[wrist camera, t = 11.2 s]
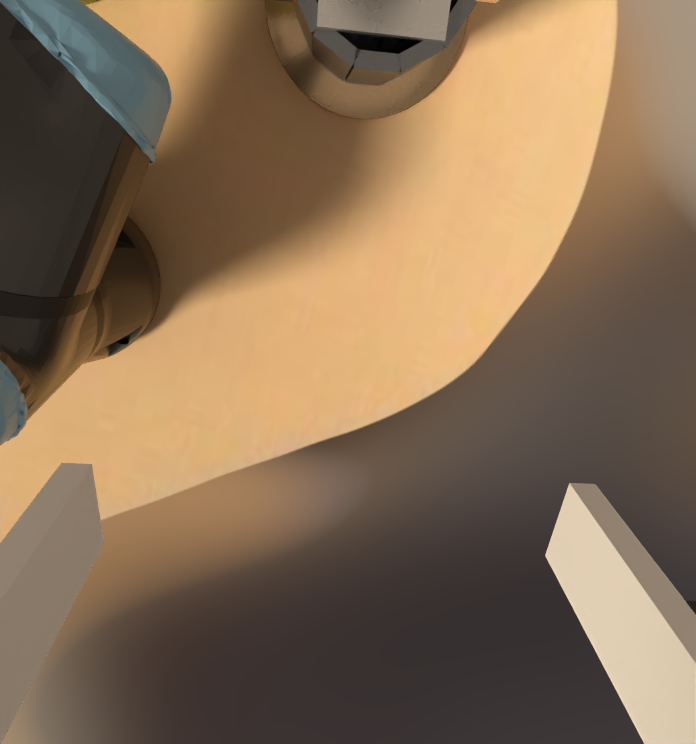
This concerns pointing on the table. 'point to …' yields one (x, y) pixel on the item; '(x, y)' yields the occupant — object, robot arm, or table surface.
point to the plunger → (372, 42)
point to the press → (361, 67)
